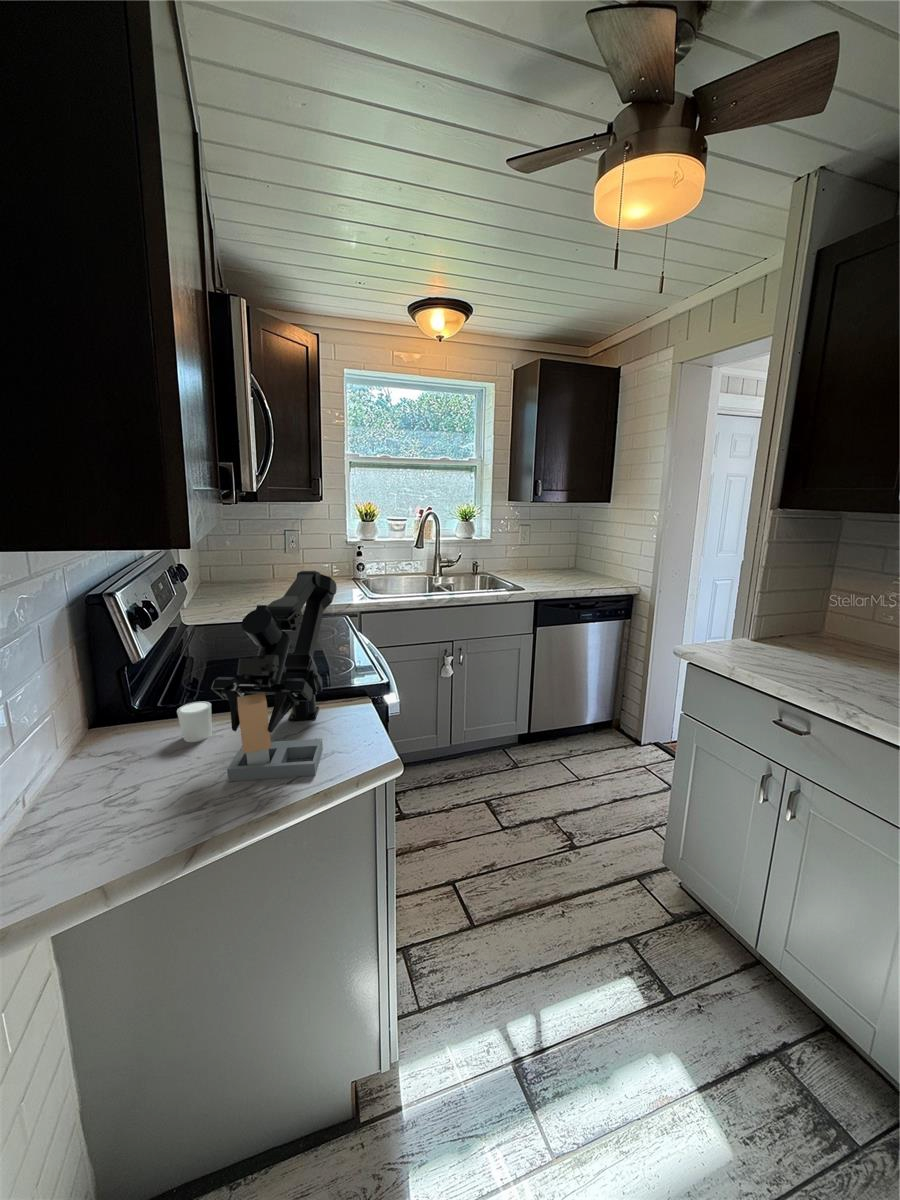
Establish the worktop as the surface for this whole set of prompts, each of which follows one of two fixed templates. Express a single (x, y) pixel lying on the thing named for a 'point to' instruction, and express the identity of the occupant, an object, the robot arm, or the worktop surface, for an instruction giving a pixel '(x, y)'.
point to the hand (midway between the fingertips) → (251, 731)
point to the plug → (254, 728)
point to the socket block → (279, 761)
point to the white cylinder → (195, 721)
